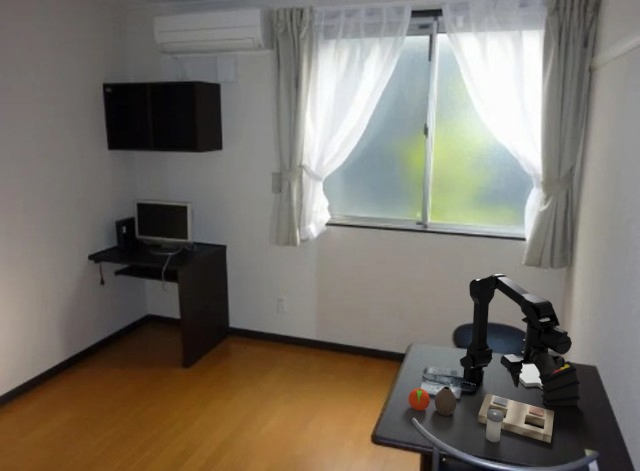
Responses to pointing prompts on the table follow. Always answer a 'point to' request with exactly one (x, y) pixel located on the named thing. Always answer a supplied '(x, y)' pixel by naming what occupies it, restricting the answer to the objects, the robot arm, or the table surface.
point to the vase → (445, 401)
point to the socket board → (519, 417)
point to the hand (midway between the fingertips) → (529, 385)
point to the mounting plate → (530, 376)
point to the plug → (494, 424)
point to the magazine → (561, 387)
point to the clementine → (419, 399)
